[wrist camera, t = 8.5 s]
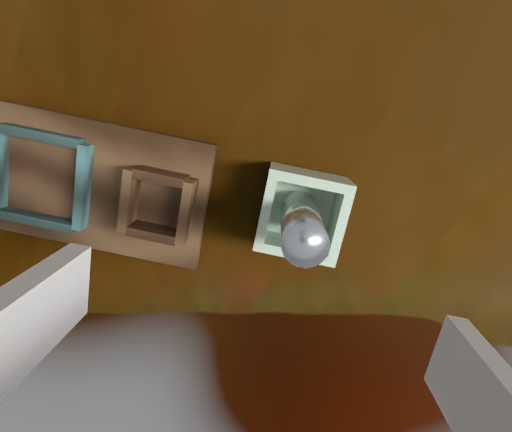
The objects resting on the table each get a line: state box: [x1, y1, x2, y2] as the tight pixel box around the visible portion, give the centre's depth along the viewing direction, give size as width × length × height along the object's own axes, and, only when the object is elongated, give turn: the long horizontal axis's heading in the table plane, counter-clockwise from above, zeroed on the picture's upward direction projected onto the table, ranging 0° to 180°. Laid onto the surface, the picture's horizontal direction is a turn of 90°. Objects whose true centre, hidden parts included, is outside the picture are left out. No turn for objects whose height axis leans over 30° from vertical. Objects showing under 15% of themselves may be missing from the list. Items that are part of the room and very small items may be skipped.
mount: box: [0, 100, 218, 270], centre depth 34 cm, size 12×20×4 cm, turn 79°
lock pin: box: [281, 191, 330, 268], centre depth 30 cm, size 3×3×10 cm
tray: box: [253, 162, 357, 268], centre depth 33 cm, size 7×7×5 cm
